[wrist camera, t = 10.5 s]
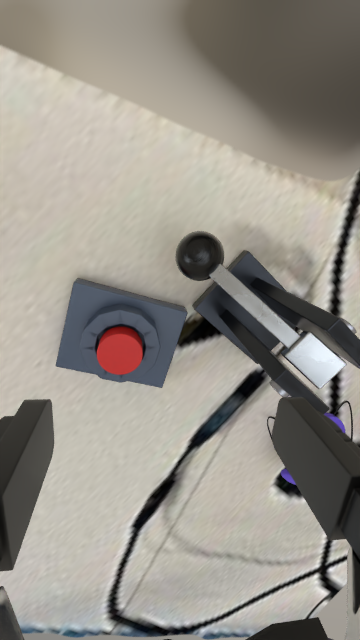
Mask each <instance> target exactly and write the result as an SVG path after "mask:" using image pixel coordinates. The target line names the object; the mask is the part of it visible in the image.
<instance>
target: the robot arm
mask: <svg viewBox="0 0 360 640" xmlns="http://www.w3.org/2000/svg"><path fill="white" fill-rule="evenodd" d="M272 441H273V445H274V448H275V450H276V452H277V454H278V455H279V457H280V459H281V460H282V462H283V464H284V465H285V467H286V469H287V470H288V472H289V474H290V475H291V477H292V479H293V480H294V482H295V483H296V485H297V487H298V488H299V490H300V492H301V493H302V495H303V497H304V498H305V500H306V502H307V503H308V505H309V507H310V508H311V510H312V512H313V513H314V515H315V517H316V518H317V520H318V522H319V523H320V525H321V527H322V528H323V530H324V532H325V533H326V535H327V537H328V538H329V540H339V539H347V541H348V543H349V544H350V548H349V550H348V555H347V629H346V635H345V640H360V448H359V447H358V446H357V445H356V444H355V443H354V442H352V441H351V439H350V438H349V437H348V436H347V435H346V434H345V433H343V432H342V430H341V428H340V427H339V426H338V425H337V424H336V423H335V422H334V421H333V420H332V419H330V418H328V417H327V416H325V415H324V414H322V413H321V412H319V411H316V410H315V409H314V408H313V407H312V405H311V404H310V403H309V402H308V401H307V400H306V399H305V398H303V397H283V398H281V399H280V401H279V404H278V408H277V413H276V417H275V422H274V426H273V431H272ZM53 448H54V429H53V414H52V403H51V400H50V399H47V400H24V401H23V403H22V404H21V406H20V408H19V409H18V411H17V413H16V414H15V416H4V417H3V418H2V419H0V571H9V570H13V568H14V565H15V562H16V559H17V556H18V553H19V551H20V548H21V545H22V542H23V539H24V536H25V533H26V530H27V527H28V525H29V522H30V519H31V516H32V513H33V510H34V507H35V504H36V502H37V499H38V496H39V493H40V490H41V487H42V484H43V481H44V478H45V476H46V473H47V470H48V467H49V464H50V461H51V458H52V454H53ZM0 640H24V638H23V635H22V632H21V629H20V627H19V624H18V621H17V619H16V616H15V613H14V611H13V608H12V605H11V603H10V600H9V598H8V595H7V593H6V591H5V589H4V587H3V586H1V587H0ZM165 640H170V639H165ZM246 640H332V639H330V638H328V637H327V635H326V633H325V631H324V629H323V626H322V624H321V622H320V620H319V618H318V617H317V618H310V619H303V620H296V621H290V622H283V623H276V624H271V625H270V626H268V627H266V628H265V629H263V630H261V631H260V632H258V633H256V634H254V635H253V636H251V637H249V638H248V639H246Z"/></svg>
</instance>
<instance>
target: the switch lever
mask: <svg viewBox="0 0 360 640" xmlns="http://www.w3.org/2000/svg"><path fill="white" fill-rule="evenodd" d="M175 257H176V263H177V266H178V268H179V270H180V271H181V272H182V274H183V275H185V276H186V277H187V278H189V279H192V280H196V281H203V280H207V279H210V278H212V279H213V280H214V281H215V282H216V283H217V284H218V285H219V286H220V287H221V288H223V289H224V290H225V291H226V292H227V293H228V294H229V295H230V296H231V297H232V298H233V299H234V300H236V301H237V302H238V303H239V304H240V305H241V306H242V307H243V308H244V309H245V310H246V311H247V312H248V313H250V314H251V315H252V316H253V317H254V318H255V319H256V320H257V321H258V322H259V323H260V324H261V325H263V326H264V327H265V328H266V329H267V330H268V331H269V332H270V333H271V334H272V335H273V336H274V337H276V338H277V339H278V340H279V341H280V342H281V343H282V344H283V345H284V346H285V347H286V348H285V349H284V350H283V351H282V352H281V354H282V355H283V356H284V357H285V358H286V359H287V360H288V361H289V362H290V363H291V364H292V365H293V366H294V367H295V368H297V369H298V370H299V371H300V372H301V373H302V374H303V375H304V376H305V377H306V378H307V379H308V380H309V381H310V382H312V383H313V384H314V385H315V386H316V387H317V388H318V389H321V388H322V387H323V386H324V385H325V384H326V383H327V382H328V381H330V380H331V379H332V378H333V377H334V376H335V375H336V374H337V373H338V372H339V371H340V370H342V369H343V368H344V367H345V366H346V362H345V361H344V360H342V359H341V358H340V357H339V356H338V355H337V354H336V353H335V352H333V351H332V350H331V349H330V348H329V347H328V346H327V345H326V344H324V343H323V342H322V341H321V340H320V339H319V338H318V337H317V336H315V335H314V334H313V333H312V332H311V331H303V332H302V333H301V334H300V335H299V334H298V333H297V332H296V331H295V330H293V329H292V328H291V327H290V326H289V325H288V324H287V323H286V322H285V321H283V320H282V319H281V318H280V317H279V316H278V315H277V314H276V313H275V312H273V311H272V310H271V309H270V308H269V307H268V306H267V305H266V304H265V303H264V302H262V301H261V300H260V299H259V298H258V297H257V296H256V295H255V294H254V293H252V292H251V291H250V290H249V289H248V288H247V287H246V286H245V285H244V284H242V283H241V282H240V281H239V280H238V279H237V278H236V277H235V276H234V275H232V274H231V273H230V272H229V271H228V270H227V269H226V268H225V267H224V266H222V265H223V261H224V250H223V247H222V245H221V243H220V241H219V240H218V239H217V238H216V237H215V236H214V235H212V234H210V233H208V232H204V231H196V232H192V233H190V234H188V235H186V236H185V237H184V238H183V239H182V240H181V241H180V243H179V244H178V247H177V250H176V256H175Z"/></svg>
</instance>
